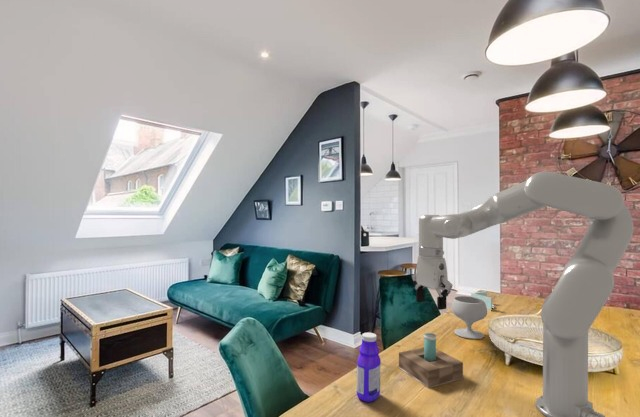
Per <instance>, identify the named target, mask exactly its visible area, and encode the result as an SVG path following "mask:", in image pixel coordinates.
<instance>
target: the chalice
mask: <svg viewBox="0 0 640 417" xmlns="http://www.w3.org/2000/svg"><path fill="white" fill-rule="evenodd" d="M451 311H452V313H453V314H454V315H455V316H456V317H457V318H459V319H460V320H462V321H463V322H465V325H466V327H465V328H463V327H462V328H456V329H454V330H453V333H454V334H455V335H456V336H459V337H460V338H461V337H462V338H464V339H469V340H481V339H484V338H485V337H484V335H485V334H484V333H483V332H481V331H479V330H478V329H477V330H476V329H472V325H473V324H474V323H476V322H478V321H482V320H484V319H485V318H486V317H487V315H488V310H487V307H486V304H485V302H484V301H483V300H482V299H479V298H475V297H471V296H466V295H465V296H464V295H462V296H461V295H460V296H455V297H454V299H453V300H452V303H451ZM483 337H484V338H483Z"/></svg>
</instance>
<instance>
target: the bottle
mask: <svg viewBox="0 0 640 417" xmlns="http://www.w3.org/2000/svg"><path fill="white" fill-rule="evenodd" d="M377 340H378V338H377V334H376V333H373V332H364V333H362V334H361V344H360V347H359V349H358V351H359V355H358V358H357V361H356V397H357V398H358V399H360V400H361V401H363V402H367V403H371V402H373V401H375V400H377V399H378V398H379V396H380V394H381V365H382V364H381V363H382V361H381V357H380V355H379V353H380V349H379V347H378V343H377Z"/></svg>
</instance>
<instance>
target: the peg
mask: <svg viewBox="0 0 640 417" xmlns="http://www.w3.org/2000/svg"><path fill="white" fill-rule="evenodd" d="M423 340H424V341H423V346H424V347H423V348H424V359H425V360H426V361H428V362H433V361H436V349H437V335H436V334H435V333H432V332H425V333H424V334H423Z"/></svg>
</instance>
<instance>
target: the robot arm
mask: <svg viewBox="0 0 640 417" xmlns="http://www.w3.org/2000/svg"><path fill="white" fill-rule="evenodd" d="M546 207H549V208H552V209H555V210H559V211H563V212H567V213H571V214H573V215H574V214H575V215H578V216H582V217H584V218H587V221H588V226H587V230H586V232H585V233H584V235H583V238H581V241H580V243H579V245H578V247H577V248H576V250H575V252H574V253H573V255H572V257H571V258H570V259H569V261H568V262H567V263H566V264H565V265H564V268H563V272H562V274H561V275H560V278H558V281H557V283H556V284H555V286H554V288H553V290H551V292H550V294H548V295H546V297H545V299H544V300H543V304H542V307H541V312H540V317H541V321H542V324H543V325H542V326H543V327H542V329H543V330H542V332H543V333H542V336H543V337H542V395H541V396H538V397H536V399H535V407H536V408H537V410H538V411H539V412H540V413H542V414H543V415H544V416H545V417H606V415H604V414H603V413H601V412H597V411H595V409H594V405H593V404H594V403H593V402H591V401H589V330H590V328H591V326H592V325H593V323H594V322H595V320H596V319H597V318H598V316H599V314H600V312H601V311H602V310H603V308H604V306H605V304H606V303H607V301H608V299H609V298H610V296H611V294H612V292H613V291H614V286H615V277H614V272H615V271H616V268H618V264H619V263H620V262H621V260H622V258H623V256H624V254H625V252H626V251H627V249H628V247H629V245H630V243H631V241H632V237H633V235H634V234H633V233H634V220H633V217H632V213H631V212H630V209H629V208H628V206H627V205H626V203H625V200H624V196H623V193H622V192H621V191H620V189H619V188H616V187H615V186H613V185H611V184H608V183H605V182H600V181H595V180H590V179H586V178H581V177H576V176H573V175H566V174H564V173H563V174H562V173H559V172H554V171H549V170H547V171H546V170H544V171H543V170H542V171H538V172H536V173H534V174H532V175H531V176H530V177H529V178H528V179H527V180H525V181H523V182H521V183H518V184H516V185H513V186H511V187H509V188H506V189H503V190H501V191H499V192H497V193H494V194H493V195H491V196H489V198H488V199H487V200H485V202H483V203H481V204H479V205H478V206H475V207H473V208H471V209H469V210H465V211H463V212H461V213H455V214H454V213H453V214H451V213H450V214H444V215H443V214H442V215H439V214H423V215H419V218H418V256H417V261H416V272H415V273H413V274H411V279H412V281H413V282H412V283H413V285H414V289H415V290H416V291H415V294H416V295H415V296H416V300H415V302H417V303H420V302H425V301H426V296H425V295H426V292H425V290H426V289H425V288H428V289H431V290H436V294H437V295H438V296H437V299H436V300H437V301H436V302H437V304H436V306H437V310H439V311H442V310H446V309H447V297H449V294H450V293H451V292H452V289H453V283H451V281H450V280H448V269H447V268H448V267H447V262H446V258H445V257H444V254H445V251H444V238H446V239H451V240H453V239H454V240H455V239H460V238H465V237H468V236H470V235H472V234H476V233H477V232H481V231H483V230H486V229H488V228H491V227H493V226H496V225H500V224H504V223H508V222H510V221H512V220H515V219H517V218H520V217H522V216H525V215H527V214H530V213H532V212H535V211H538V210H540V209H543V208H546Z"/></svg>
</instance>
